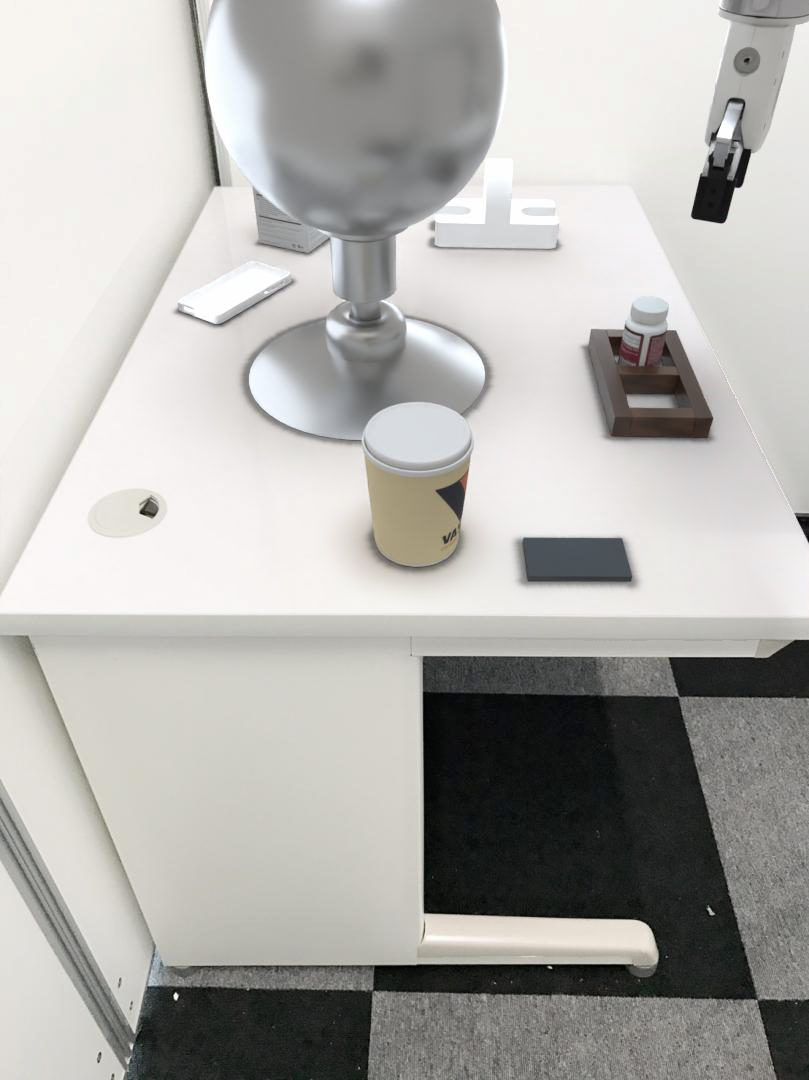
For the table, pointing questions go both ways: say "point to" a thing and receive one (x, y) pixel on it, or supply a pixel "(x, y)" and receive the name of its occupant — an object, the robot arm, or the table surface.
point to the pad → (576, 559)
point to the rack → (649, 389)
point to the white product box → (284, 228)
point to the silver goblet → (358, 179)
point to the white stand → (497, 216)
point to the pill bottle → (644, 332)
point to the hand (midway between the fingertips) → (717, 202)
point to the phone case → (234, 292)
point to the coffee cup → (417, 480)
